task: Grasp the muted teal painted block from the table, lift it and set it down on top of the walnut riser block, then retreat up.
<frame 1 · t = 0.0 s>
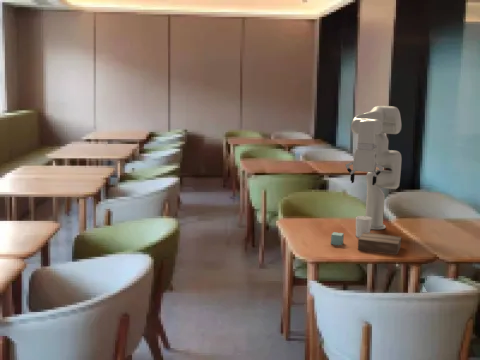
hand: (363, 183, 268), 31 cm above the table, tool pointing down, fingers open, 9 cm apart
walnut riser: (379, 248, 275), on the table
white cup: (362, 237, 294), on the table
teal block: (337, 243, 280), on the table
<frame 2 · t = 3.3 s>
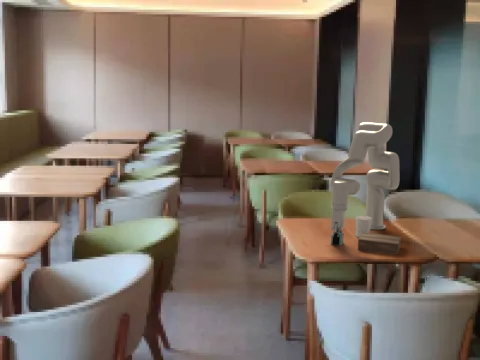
hand: (337, 242, 280), 1 cm above the table, tool pointing down, fingers closed on teal block, 5 cm apart
teal block: (337, 243, 280), on the table, touching gripper
everything else where it was.
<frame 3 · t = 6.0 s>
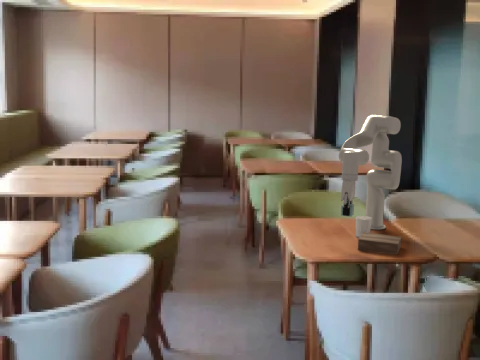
hand: (347, 213, 276), 15 cm above the table, tool pointing down, fingers closed on teal block, 4 cm apart
teal block: (347, 215, 277), point 15 cm above the table, touching gripper
everything else where it was.
when the fingers open (7 cm above the table, at t = 8.9 s): teal block drops 1 cm, resting on walnut riser.
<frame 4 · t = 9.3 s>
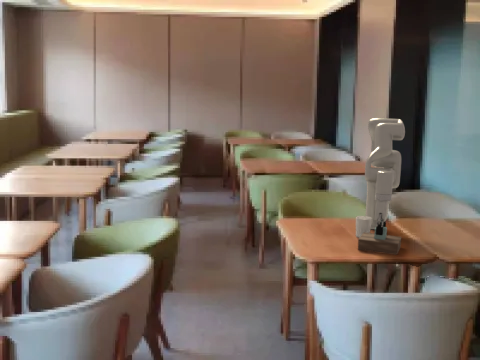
hand: (380, 232, 273), 8 cm above the table, tool pointing down, fingers open, 9 cm apart
teal block: (380, 237, 274), point 5 cm above the table, touching walnut riser
everything else where it was.
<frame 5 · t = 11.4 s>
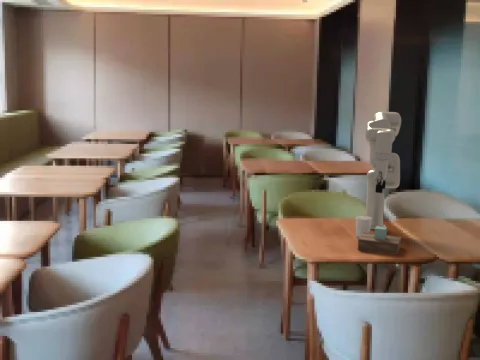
hand: (380, 190, 283), 26 cm above the table, tool pointing down, fingers open, 9 cm apart
nothing on the table moved.
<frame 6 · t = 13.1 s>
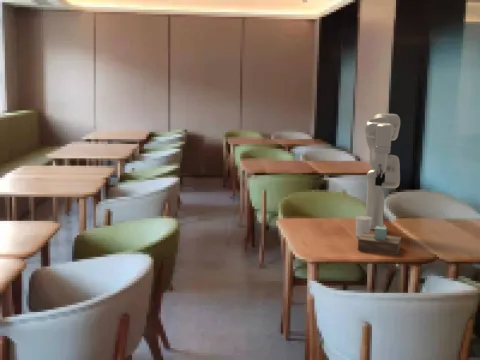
hand: (379, 184, 285), 28 cm above the table, tool pointing down, fingers open, 9 cm apart
nothing on the table moved.
at the end: teal block inside the target area on the walnut riser (0.1 cm from its centre), point 5.0 cm above the walnut riser's base; teal block tilted 0°; the gripper is holding nothing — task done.
